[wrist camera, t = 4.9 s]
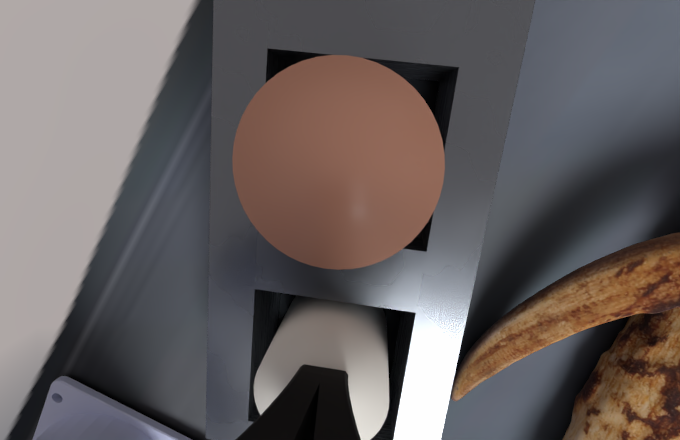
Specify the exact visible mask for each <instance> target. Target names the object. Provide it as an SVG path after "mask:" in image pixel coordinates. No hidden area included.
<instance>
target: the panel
mask: <svg viewBox="0 0 680 440" xmlns="http://www.w3.org/2000/svg"><path fill="white" fill-rule="evenodd" d="M534 4H535V0H213V55H212V111H211V167H210V223H209V278H208V334H207V390H206V438H209V439H214V440H236V439H237V438H238V437H239V436H240V435H241V434H242V433H243V432H244V431H245V430H246V429H247V428H248V427H249V426H250V425H251V424H252V423H253V422H254V421H255V420H256V419H257V418H258V417H259V416H260V413H259V411H258V409H257V406H256V403H255V398H254V380H255V376H256V373H257V370H258V368H259V366H260V364H261V362H262V360H263V358H264V356H265V354H266V352H267V350H268V348H269V346H270V344H271V342H272V340H273V338H274V336H275V334H276V332H277V328H278V314H279V300H280V293H285V294H292V295H299V296H306V297H312V298H319V299H326V300H333V301H340V302H346V303H353V304H360V305H367V306H373V307H380V308H387V309H394V310H400V311H401V316H400V322H399V328H398V334H397V340H396V346H395V352H394V358H393V365H392V371H391V377H390V378H389V409H388V413H387V417H386V419H385V422H384V424H383V425H382V427H381V429H380V430H379V431H378V433H377V434H376V435H375V436H374V437H373V438H372V439H370V440H441V435H442V431H443V426H444V421H445V417H446V412H447V407H448V403H449V398H450V394H451V389H452V384H453V380H454V375H455V370H456V366H457V361H458V356H459V352H460V347H461V342H462V338H463V333H464V329H465V324H466V319H467V315H468V310H469V305H470V301H471V296H472V291H473V287H474V282H475V277H476V273H477V268H478V264H479V259H480V254H481V250H482V245H483V240H484V236H485V231H486V226H487V222H488V217H489V213H490V208H491V203H492V199H493V194H494V189H495V185H496V180H497V175H498V171H499V166H500V161H501V157H502V152H503V148H504V143H505V138H506V134H507V129H508V124H509V120H510V115H511V110H512V106H513V101H514V97H515V92H516V87H517V83H518V78H519V73H520V69H521V64H522V59H523V55H524V50H525V45H526V41H527V36H528V32H529V27H530V22H531V18H532V13H533V8H534ZM328 55H348V56H354V57H360V58H364V59H367V60H371V61H374V62H377V63H379V64H381V65H383V66H385V67H387V68H389V69H391V70H392V71H394V72H395V73H397V74H398V75H400V76H401V77H403V78H410V79H420V80H430V81H439V85H438V91H437V97H436V103H435V109H434V118H435V120H436V122H437V124H438V127H439V130H440V134H441V137H442V141H443V148H444V154H445V172H444V181H443V186H442V190H441V194H440V197H439V200H438V203H437V205H436V208H435V210H434V212H433V214H432V215H431V217H430V219H429V221H428V222H427V224H426V225H425V226H424V228H423V229H422V231H421V232H420V233H419V234H418V235H417V236H416V237H415V238H414V239H413V240H412V241H411V242H410V243H409V244H408V245H407V246H405V247H404V248H403V249H402V250H400V251H399V252H397V253H396V254H394V255H392V256H391V257H389V258H387V259H385V260H383V261H380V262H378V263H375V264H372V265H369V266H366V267H361V268H355V269H343V270H336V269H324V268H320V267H315V266H311V265H308V264H305V263H302V262H299V261H297V260H295V259H293V258H291V257H289V256H287V255H286V254H284V253H282V252H281V251H279V250H278V249H276V248H275V247H274V246H273V245H272V244H270V243H269V242H268V241H267V240H266V239H265V238H264V237H263V236H262V235H261V234H260V233H259V232H258V230H257V229H256V228H255V226H254V225H253V224H252V222H251V221H250V219H249V218H248V216H247V214H246V213H245V211H244V209H243V206H242V204H241V202H240V199H239V197H238V193H237V190H236V187H235V182H234V176H233V162H232V156H233V145H234V140H235V136H236V131H237V128H238V125H239V123H240V120H241V117H242V115H243V113H244V111H245V110H246V108H247V106H248V104H249V103H250V101H251V100H252V98H253V97H254V96H255V94H256V93H257V92H258V91H259V90H260V89H261V88H262V87H263V85H264V84H265V83H266V82H268V81H269V80H270V79H271V78H273V77H274V76H275V75H276V74H278V73H279V72H281V71H283V70H284V69H286V68H288V67H289V66H291V65H294V64H296V63H298V62H301V61H303V60H307V59H311V58H314V57H319V56H328Z"/></svg>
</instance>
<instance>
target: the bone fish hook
mask: <svg viewBox="0 0 680 440" xmlns="http://www.w3.org/2000/svg"><path fill="white" fill-rule="evenodd" d="M628 316H629V318H628V320H627V322H626V325H625V327H624V329H623V330H622V331H620V332H619V334H618V336H617V338H616V340H615V341H614V343H613V344H612V346H611V348H610V349H609V350H608V351H606V352H604V353H603V354H602V355H601V357H600V359H599V361H598V363H597V366H596V368H595V369H594V370H593V371H592V373H591V374H590V377H589V379H588V380H587V382H586V383H585V385H584V387H583V388H582V390H581V391H580V392H579V393H578V394H577V396H576V398H575V402H574V408H573V413H572V420H571V423H570V425H569V427H568V429H567V430H566V433H565V436H564V438H563V440H680V232H679V233H672V234H669V235H665V236H662V237H658V238H654V239H651V240H647V241H644V242H640V243H637V244H634V245H631V246H629V247H626V248H624V249H621V250H619V251H617V252H614V253H612V254H609V255H607V256H605V257H602V258H600V259H598V260H595V261H593V262H591V263H589V264H587V265H585V266H583V267H581V268H579V269H577V270H575V271H573V272H571V273H569V274H568V275H566V276H564V277H562V278H561V279H559V280H557V281H555V282H554V283H552V284H550V285H549V286H547V287H546V288H544V289H542V290H541V291H539V292H537V293H536V294H534V295H533V296H531V297H529V298H528V299H526V300H525V301H523V302H522V303H520V304H519V305H518V306H516V307H515V308H514V309H512V310H511V311H510V312H508V313H507V314H506V315H504V316H503V317H501V318H500V319H499V320H498V321H497V322H496V323H494V324H493V325H492V326H491V327H490V328H489V329H488V330H487V331H486V332H485V333H484V334H483V335H482V336H481V337H480V338H479V339H478V340H477V341H476V342H475V343H474V345H473V346H472V347H471V348H470V350H469V351H468V352H467V354H466V355H465V357H464V358H463V360H462V362H461V364H460V366H459V368H458V370H457V373H456V375H455V378H454V381H453V385H452V390H451V398H452V400H453V401H458V400H459V399H461V398H462V397H464V396H465V395H466V394H467V393H468V392H470V391H471V390H472V389H474V388H475V387H476V386H477V385H479V384H480V383H481V382H483V381H484V380H486V379H488V378H490V377H491V376H493V375H495V374H496V373H498V372H499V371H501V370H503V369H504V368H506V367H508V366H509V365H511V364H512V363H514V362H516V361H518V360H520V359H522V358H524V357H526V356H527V355H530V354H532V353H534V352H536V351H538V350H540V349H542V348H544V347H546V346H548V345H551V344H553V343H555V342H557V341H560V340H562V339H564V338H566V337H568V336H570V335H573V334H575V333H578V332H580V331H583V330H585V329H588V328H591V327H594V326H597V325H600V324H603V323H607V322H610V321H613V320H616V319H620V318H624V317H628Z"/></svg>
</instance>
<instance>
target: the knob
mask: <svg viewBox="0 0 680 440" xmlns="http://www.w3.org/2000/svg"><path fill="white" fill-rule="evenodd" d="M304 364H306V365H312V366H318V367H325V368H331V369H337V370H343V371H346V373H347V374H348V386H349V394H350V400H351V405H352V410H353V414H354V418H355V421H356V425H357V429H358V432H359V435H360V439H361V440H370V439H372V438H373V437H374V436H375V435H376V434H377V433H378V431H379V430H380V429H381V427H382V425H383V424H384V422H385V419H386V417H387V413H388V409H389V372H388V334H387V320H386V316H385V313H384V310H383V308H380V307H373V306H367V305H360V304H353V303H346V302H340V301H333V300H326V299H319V298H312V297H306V296H299V295H296V297H295V298H294V299H293V301H292V302H291V304H290V306H289V308H288V310H287V312H286V314H285V316H284V318H283V320H282V322H281V324H280V326H279V328H278V330H277V332H276V334H275V336H274V338H273V340H272V342H271V344H270V346H269V348H268V350H267V352H266V354H265V356H264V358H263V360H262V362H261V364H260V366H259V368H258V370H257V373H256V376H255V380H254V398H255V403H256V406H257V409H258V411H259V413H260V415H261V414H262V413H263V412H264V411H265V410H266V409H267V408H268V407H269V406H270V404H271V403H272V402H273V401H274V400H275V399H276V398H277V396H278V395H279V394H280V393H281V392H282V391H283V389H284V388H285V387H286V386H287V384H288V383H289V382H290V380H291V379H292V378H293V376H294V375H295V374H296V372H297V371H298V369H299V368H300V367H301V366H302V365H304Z"/></svg>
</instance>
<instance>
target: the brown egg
mask: <svg viewBox="0 0 680 440" xmlns="http://www.w3.org/2000/svg"><path fill="white" fill-rule="evenodd" d="M232 162H233V176H234V182H235V187H236V190H237V193H238V197H239V199H240V202H241V204H242V206H243V209H244V211H245V213H246V214H247V216H248V218H249V219H250V221H251V222H252V224H253V225H254V226H255V228H256V229H257V230H258V232H259V233H260V234H261V235H262V236H263V237H264V238H265V239H266V240H267V241H268V242H269V243H270V244H272V245H273V246H274V247H275V248H276V249H278V250H279V251H281V252H282V253H284V254H286V255H287V256H289V257H291V258H293V259H295V260H297V261H299V262H302V263H305V264H308V265H311V266H315V267H320V268H324V269H336V270H343V269H355V268H361V267H366V266H369V265H372V264H375V263H378V262H380V261H383V260H385V259H387V258H389V257H391V256H392V255H394V254H396V253H397V252H399V251H400V250H402V249H403V248H404V247H405V246H407V245H408V244H409V243H410V242H411V241H412V240H413V239H414V238H415V237H416V236H417V235H418V234H419V233H420V232H421V231H422V229H423V228H424V226H425V225H426V224H427V222H428V221H429V219H430V217H431V215H432V214H433V212H434V210H435V208H436V205H437V203H438V200H439V197H440V194H441V190H442V186H443V181H444V172H445V154H444V148H443V141H442V137H441V134H440V130H439V127H438V124H437V122H436V120H435V118H434V116H433V113H432V111H431V110H430V108H429V107H428V105H427V103H426V102H425V100H424V99H423V98H422V96H421V95H420V94H419V93H418V92H417V90H416V89H415V88H414V87H413V86H412V85H411V84H410V83H408V82H407V81H406V80H405V79H404V78H403V77H401V76H400V75H398V74H397V73H395V72H394V71H392V70H391V69H389V68H387V67H385V66H383V65H381V64H379V63H377V62H374V61H371V60H367V59H364V58H360V57H354V56H348V55H328V56H319V57H314V58H311V59H307V60H303V61H301V62H298V63H296V64H294V65H291V66H289V67H288V68H286V69H284V70H283V71H281V72H279V73H278V74H276V75H275V76H274V77H273V78H271V79H270V80H269V81H268V82H266V83H265V84H264V85H263V87H262V88H261V89H260V90H259V91H258V92H257V93H256V94H255V96H254V97H253V98H252V100H251V101H250V103H249V104H248V106H247V108H246V110H245V111H244V113H243V115H242V117H241V120H240V123H239V125H238V128H237V131H236V136H235V140H234V145H233V156H232Z"/></svg>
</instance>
